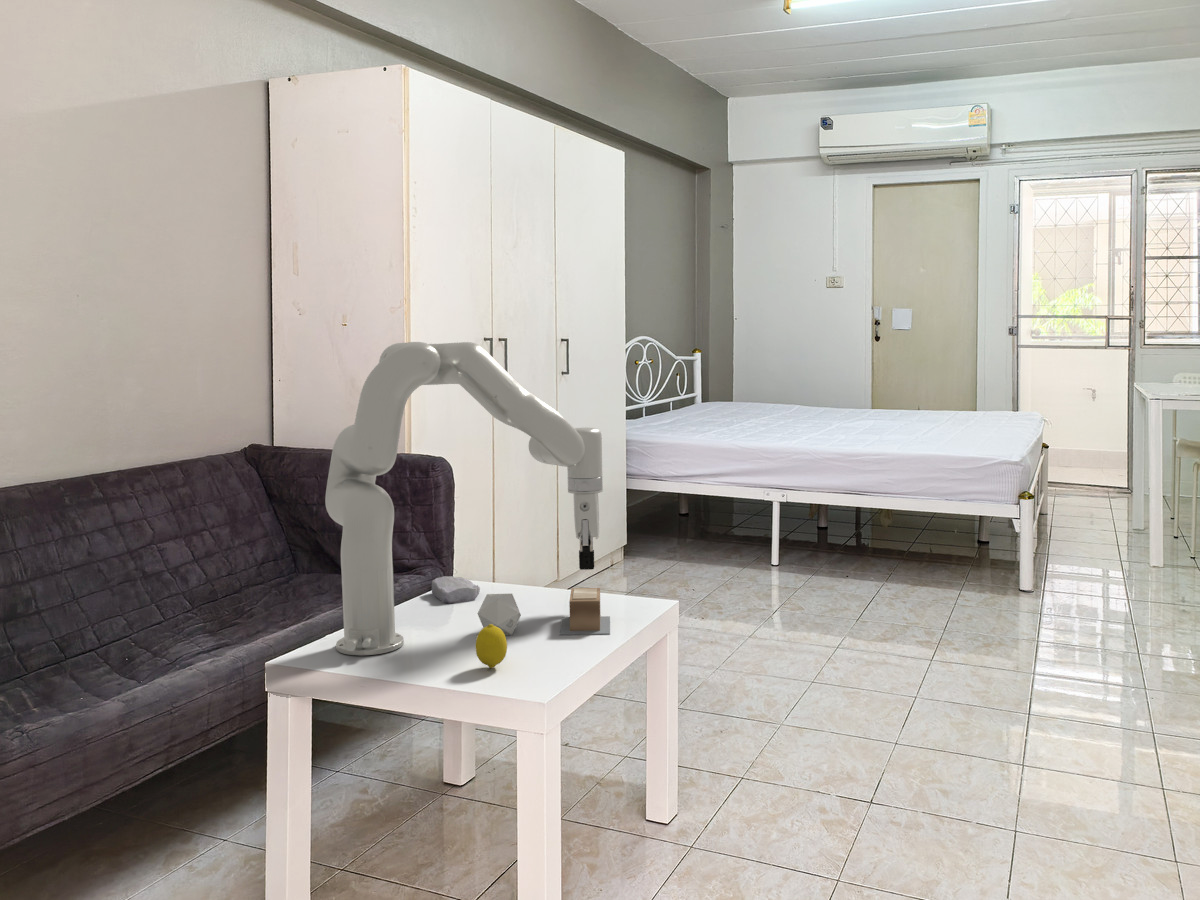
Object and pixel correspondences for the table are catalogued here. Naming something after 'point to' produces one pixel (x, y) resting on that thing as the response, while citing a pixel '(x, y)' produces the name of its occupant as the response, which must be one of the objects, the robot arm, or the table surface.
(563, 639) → the table surface
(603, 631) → the pad
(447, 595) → the stone block
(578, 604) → the walnut block
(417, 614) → the table surface
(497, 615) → the die
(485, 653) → the lemon
